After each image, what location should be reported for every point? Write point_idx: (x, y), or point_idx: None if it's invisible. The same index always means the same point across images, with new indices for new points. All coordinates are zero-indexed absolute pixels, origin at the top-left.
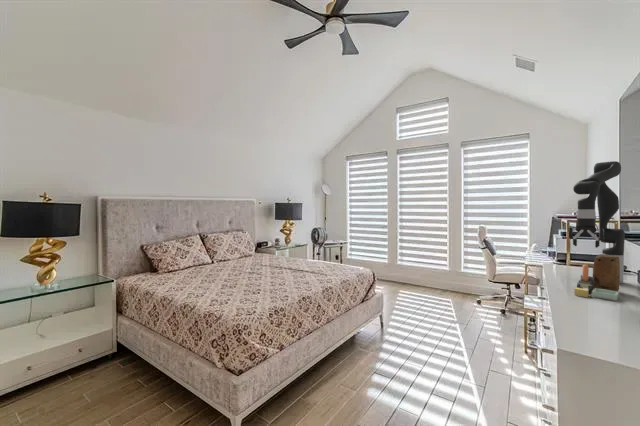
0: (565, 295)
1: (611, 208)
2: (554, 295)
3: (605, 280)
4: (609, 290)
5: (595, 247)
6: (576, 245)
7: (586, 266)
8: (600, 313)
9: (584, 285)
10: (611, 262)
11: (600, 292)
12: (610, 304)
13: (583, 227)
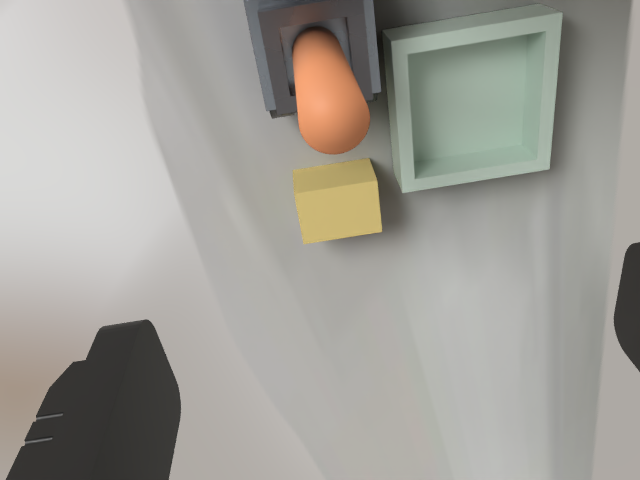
0: (276, 282)
1: None
2: (239, 334)
3: None
4: (496, 34)
5: (614, 317)
6: (164, 368)
7: (352, 143)
8: (487, 430)
9: None
10: None
11: (454, 179)
12: (506, 258)
13: None
